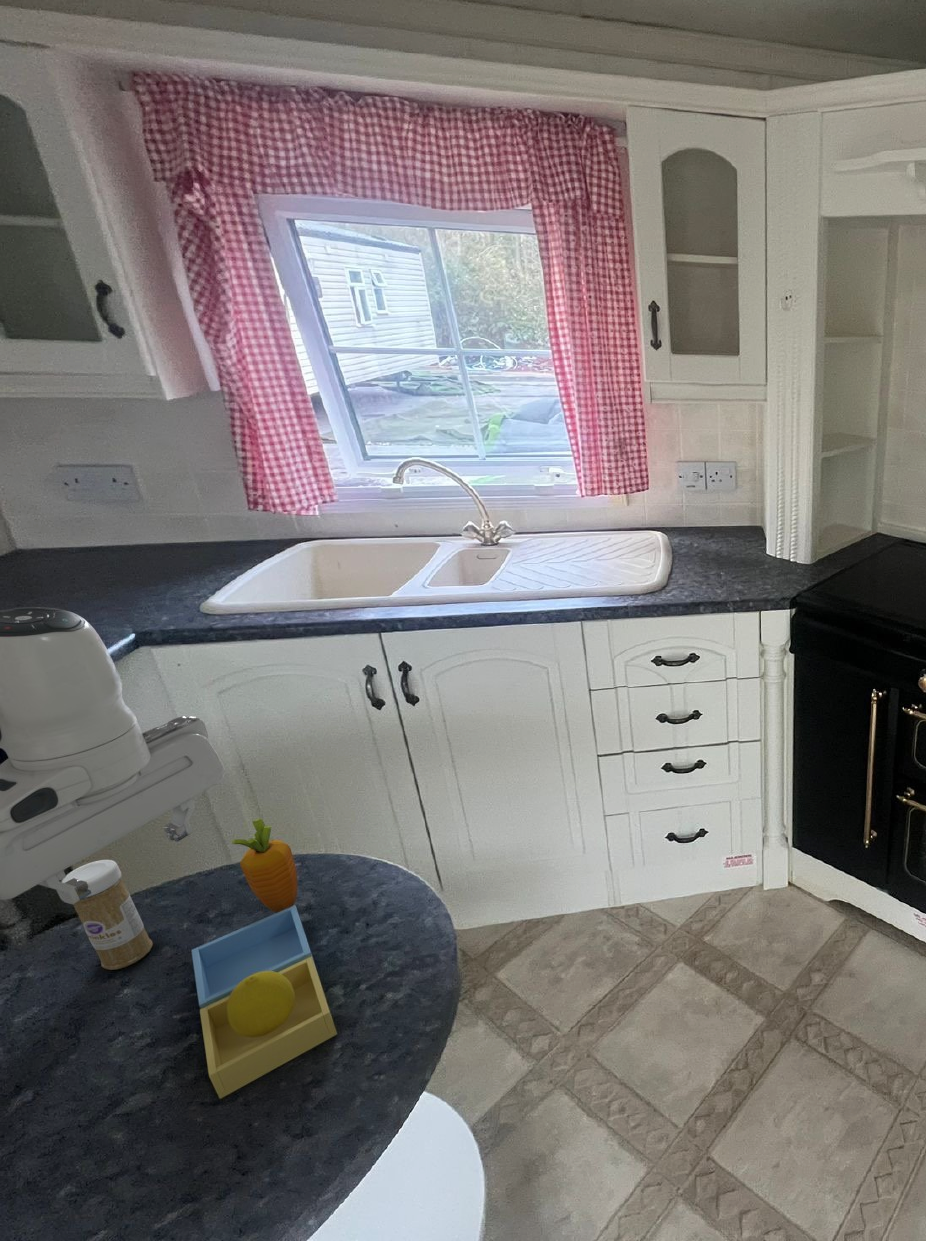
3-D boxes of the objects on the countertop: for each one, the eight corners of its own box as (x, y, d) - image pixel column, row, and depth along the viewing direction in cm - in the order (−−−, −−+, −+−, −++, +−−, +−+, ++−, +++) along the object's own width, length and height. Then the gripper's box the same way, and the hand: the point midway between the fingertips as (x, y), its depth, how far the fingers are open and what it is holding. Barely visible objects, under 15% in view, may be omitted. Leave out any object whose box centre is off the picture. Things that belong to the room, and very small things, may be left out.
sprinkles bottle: (94, 976, 83) (49, 891, 78) (114, 946, 87) (73, 863, 82) (144, 964, 85) (103, 880, 80) (161, 935, 89) (124, 853, 84)
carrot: (290, 931, 90) (257, 840, 84) (253, 929, 90) (217, 838, 84) (319, 901, 95) (289, 813, 89) (283, 899, 95) (251, 811, 89)
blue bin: (209, 1027, 78) (198, 1005, 77) (200, 971, 84) (191, 949, 83) (317, 973, 85) (310, 952, 83) (302, 925, 91) (295, 904, 90)
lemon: (233, 1061, 74) (209, 1009, 71) (247, 1018, 78) (225, 967, 75) (297, 1040, 76) (277, 988, 73) (307, 998, 81) (289, 948, 78)
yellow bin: (219, 1099, 71) (208, 1076, 70) (209, 1031, 77) (199, 1009, 76) (337, 1034, 78) (329, 1012, 76) (319, 977, 84) (311, 955, 83)
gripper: (176, 704, 80) (212, 801, 85) (-83, 817, 62) (-17, 932, 67) (219, 712, 79) (253, 810, 84) (-32, 831, 60) (31, 947, 65)
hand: (132, 865), depth 75 cm, fingers open, 8 cm apart
